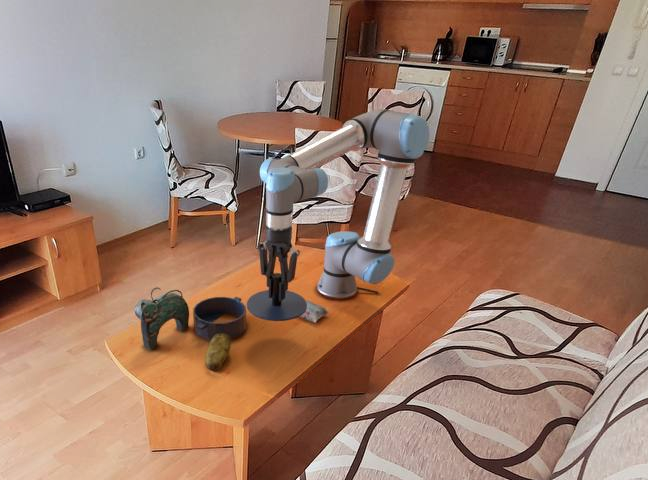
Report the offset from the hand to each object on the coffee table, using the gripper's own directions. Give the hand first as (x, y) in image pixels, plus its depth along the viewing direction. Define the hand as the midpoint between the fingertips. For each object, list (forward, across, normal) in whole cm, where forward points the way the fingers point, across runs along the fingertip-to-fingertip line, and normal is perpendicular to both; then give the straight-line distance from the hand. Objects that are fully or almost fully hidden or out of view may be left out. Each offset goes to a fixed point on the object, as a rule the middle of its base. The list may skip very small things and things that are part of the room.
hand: (276, 297), depth 157 cm
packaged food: (+17, -2, -20) cm, 26 cm away
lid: (+3, 0, 0) cm, 3 cm away
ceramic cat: (+17, +33, +18) cm, 41 cm away
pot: (+17, +21, +2) cm, 27 cm away
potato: (+17, +10, +19) cm, 28 cm away
